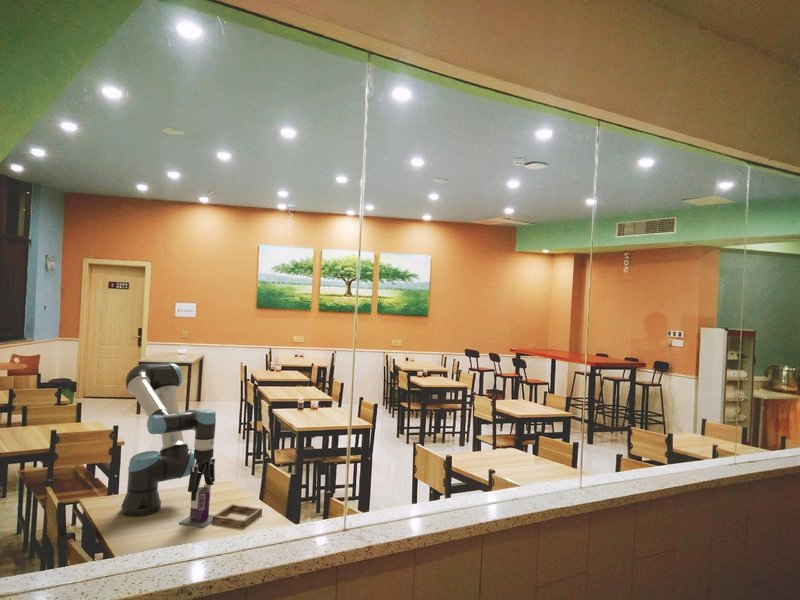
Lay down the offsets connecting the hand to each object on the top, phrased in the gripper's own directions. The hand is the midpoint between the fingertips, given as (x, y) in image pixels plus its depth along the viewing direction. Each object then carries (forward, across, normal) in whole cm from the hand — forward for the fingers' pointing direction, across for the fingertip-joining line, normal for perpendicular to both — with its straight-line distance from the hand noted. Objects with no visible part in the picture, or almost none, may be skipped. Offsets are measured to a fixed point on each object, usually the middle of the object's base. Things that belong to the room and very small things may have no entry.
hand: (200, 504), depth 209 cm
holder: (+7, +8, -13) cm, 16 cm away
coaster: (+7, 0, 0) cm, 7 cm away
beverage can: (+6, 0, 0) cm, 6 cm away
